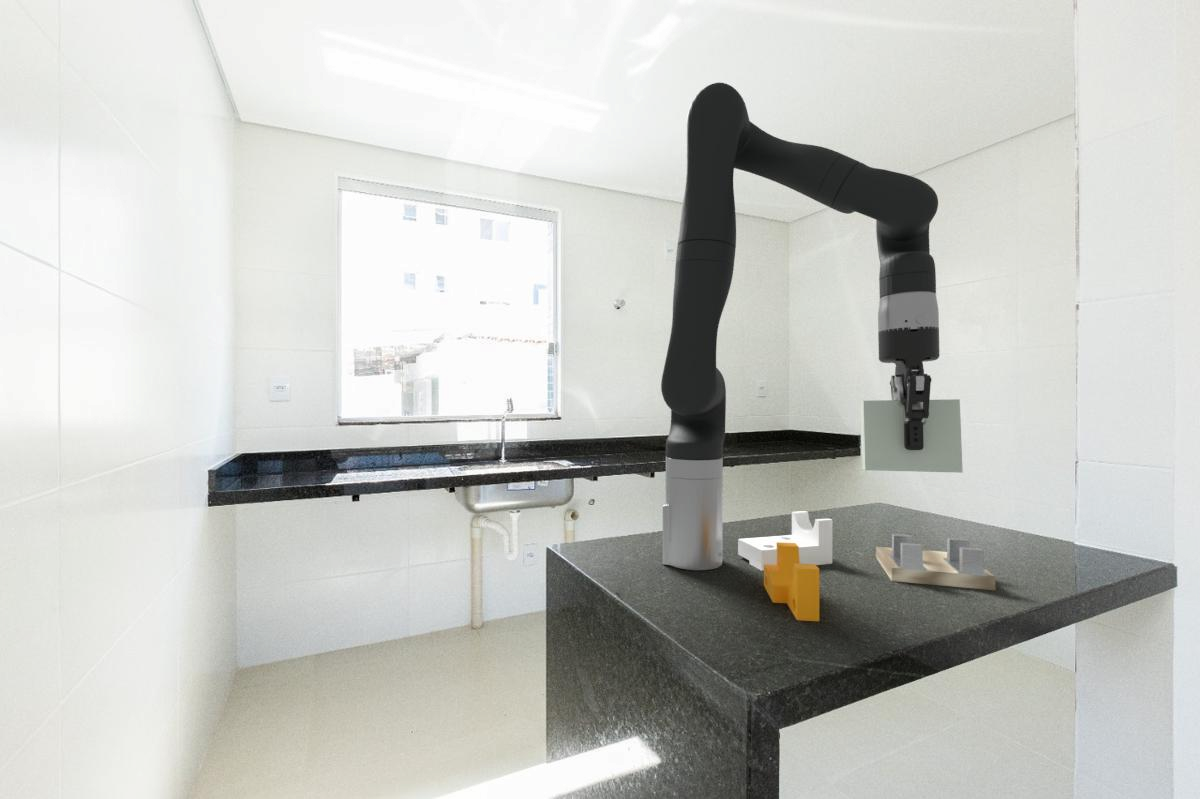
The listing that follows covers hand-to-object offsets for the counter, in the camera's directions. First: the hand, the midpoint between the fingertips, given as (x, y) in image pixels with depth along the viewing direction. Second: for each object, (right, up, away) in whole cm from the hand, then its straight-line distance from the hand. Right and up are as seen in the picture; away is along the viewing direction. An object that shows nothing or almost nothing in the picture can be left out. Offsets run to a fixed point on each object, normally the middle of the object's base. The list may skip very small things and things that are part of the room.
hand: (910, 447), depth 77 cm
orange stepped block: (-19, -20, -6) cm, 28 cm away
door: (0, -3, 0) cm, 3 cm away
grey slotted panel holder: (+6, -18, +4) cm, 19 cm away
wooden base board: (+7, -20, +6) cm, 22 cm away
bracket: (-14, -20, +12) cm, 27 cm away
